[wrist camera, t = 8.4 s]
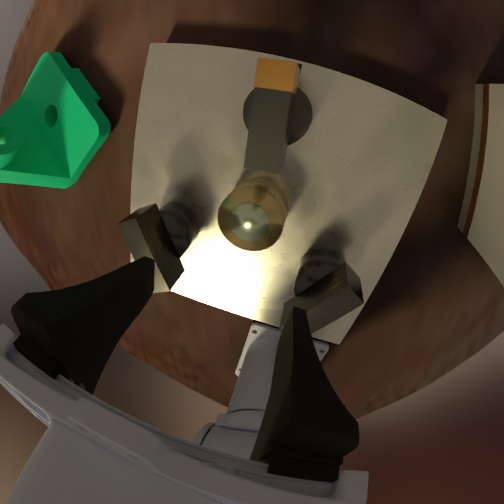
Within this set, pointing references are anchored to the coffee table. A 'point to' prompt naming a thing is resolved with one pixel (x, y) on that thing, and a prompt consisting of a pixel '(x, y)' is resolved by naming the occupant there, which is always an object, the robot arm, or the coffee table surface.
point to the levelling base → (315, 175)
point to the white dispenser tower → (486, 179)
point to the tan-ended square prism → (274, 114)
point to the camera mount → (51, 127)
